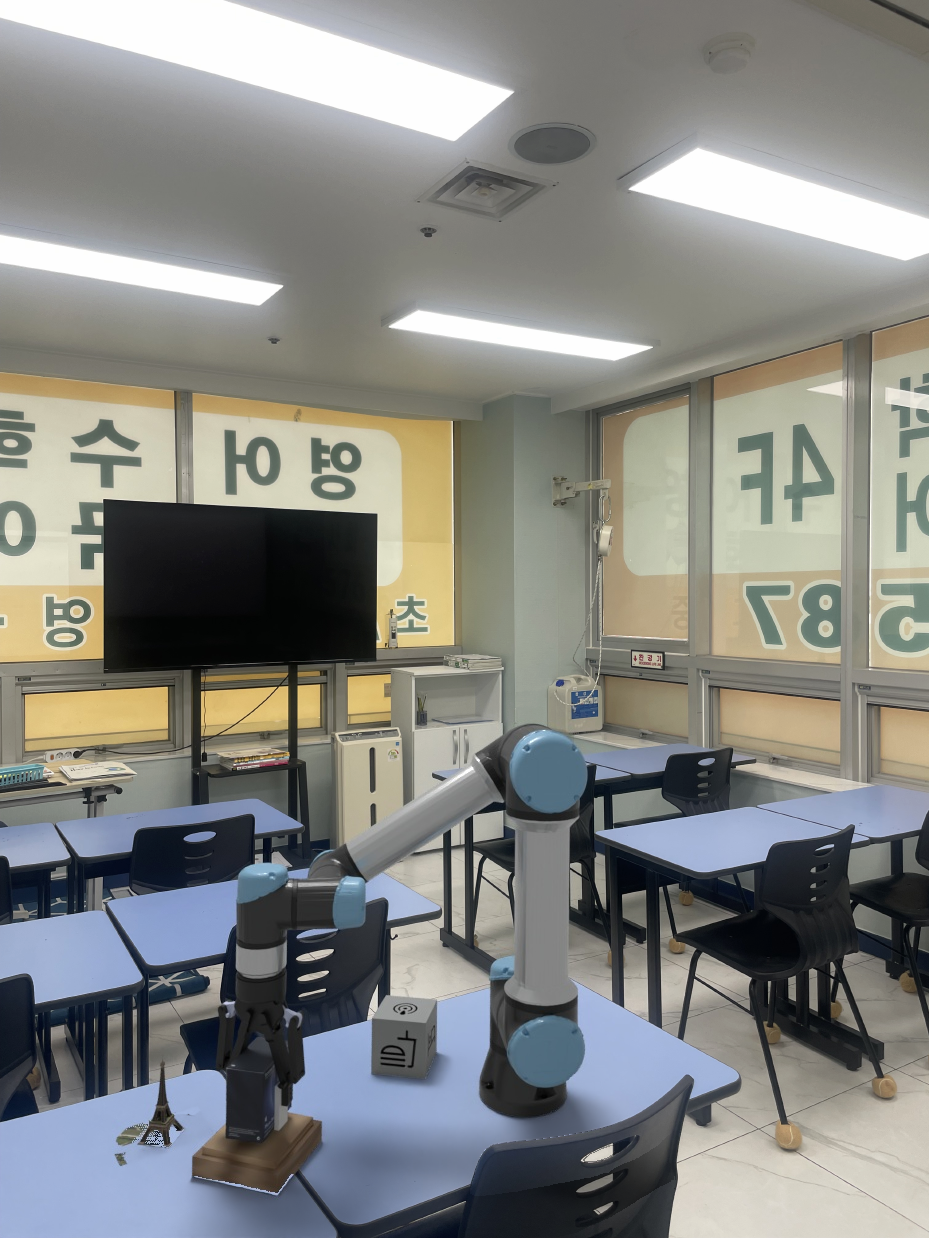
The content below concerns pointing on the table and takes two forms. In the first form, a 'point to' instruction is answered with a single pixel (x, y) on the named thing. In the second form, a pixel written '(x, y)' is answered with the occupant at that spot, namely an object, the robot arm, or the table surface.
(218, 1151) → the plinth
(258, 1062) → the small box
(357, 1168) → the table surface
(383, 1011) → the icon cube
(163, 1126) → the eiffel tower figurine
